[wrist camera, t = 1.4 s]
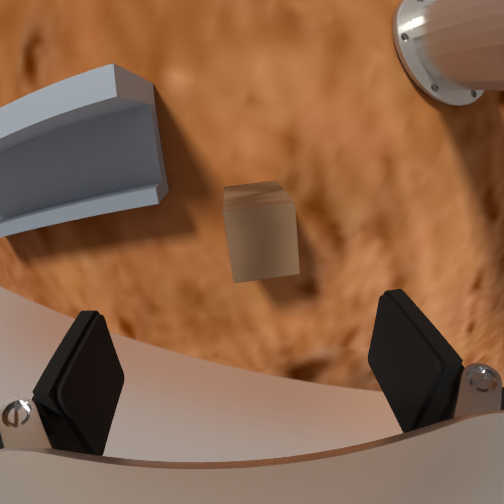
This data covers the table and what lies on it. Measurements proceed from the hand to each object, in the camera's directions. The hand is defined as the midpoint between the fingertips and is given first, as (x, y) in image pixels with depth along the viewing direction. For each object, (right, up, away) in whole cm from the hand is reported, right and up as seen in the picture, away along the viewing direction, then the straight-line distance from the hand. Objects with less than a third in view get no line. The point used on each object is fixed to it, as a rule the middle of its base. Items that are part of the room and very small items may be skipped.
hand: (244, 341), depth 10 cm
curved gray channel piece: (-17, +11, +15) cm, 25 cm away
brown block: (0, +6, +18) cm, 19 cm away
